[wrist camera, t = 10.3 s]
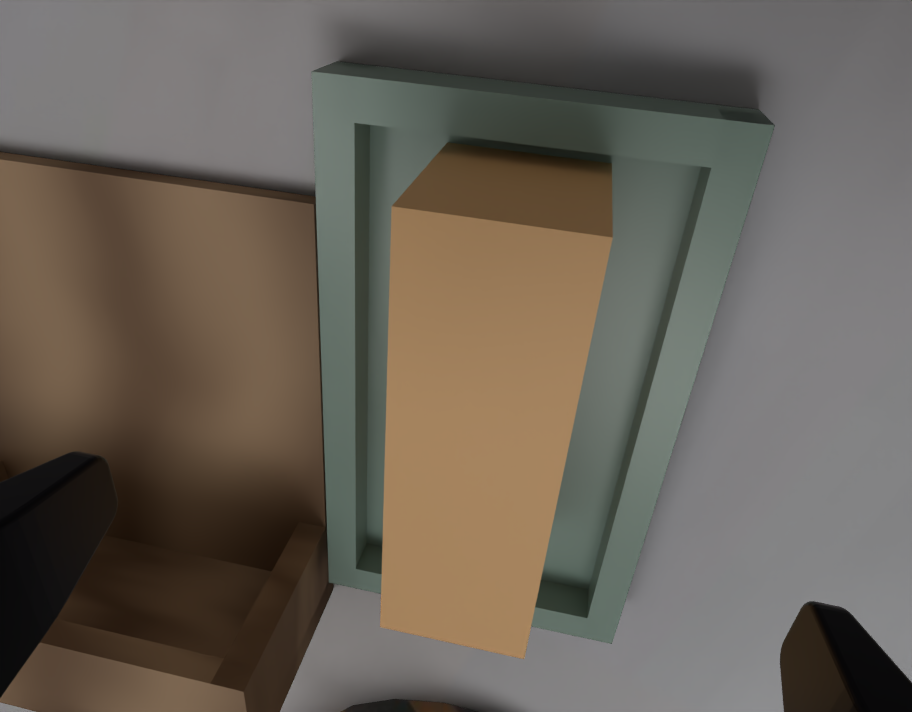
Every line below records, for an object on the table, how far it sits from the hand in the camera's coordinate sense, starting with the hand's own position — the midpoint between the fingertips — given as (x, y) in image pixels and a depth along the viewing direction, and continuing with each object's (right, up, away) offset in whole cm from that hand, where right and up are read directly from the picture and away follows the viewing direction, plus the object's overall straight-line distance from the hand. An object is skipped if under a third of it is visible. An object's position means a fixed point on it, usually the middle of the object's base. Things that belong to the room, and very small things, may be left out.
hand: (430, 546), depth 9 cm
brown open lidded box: (-11, +1, +15) cm, 18 cm away
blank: (+2, +2, +11) cm, 11 cm away
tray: (+2, +2, +12) cm, 12 cm away
